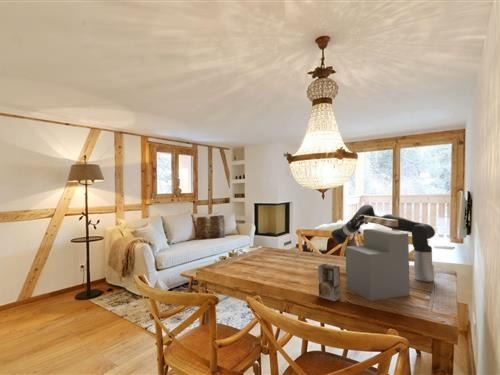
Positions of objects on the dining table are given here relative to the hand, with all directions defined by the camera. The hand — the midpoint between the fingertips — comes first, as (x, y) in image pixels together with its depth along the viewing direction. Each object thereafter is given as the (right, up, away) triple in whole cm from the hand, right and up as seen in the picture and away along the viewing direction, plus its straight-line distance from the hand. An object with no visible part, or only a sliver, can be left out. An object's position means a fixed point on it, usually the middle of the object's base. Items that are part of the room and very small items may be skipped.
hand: (366, 216), depth 166 cm
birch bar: (+2, -3, -8) cm, 9 cm away
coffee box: (-29, -40, -23) cm, 54 cm away
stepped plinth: (-1, -39, -16) cm, 42 cm away
